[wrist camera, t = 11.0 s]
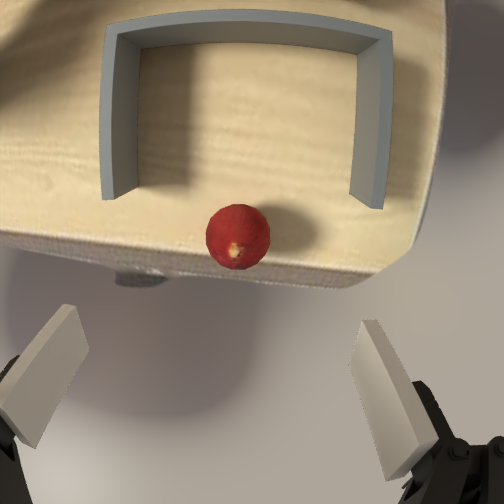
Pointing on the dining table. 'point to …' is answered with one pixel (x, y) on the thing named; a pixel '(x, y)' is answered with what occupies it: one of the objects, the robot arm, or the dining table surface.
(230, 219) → the onion
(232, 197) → the dining table surface
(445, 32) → the dining table surface
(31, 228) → the dining table surface
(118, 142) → the open u-shaped frame
